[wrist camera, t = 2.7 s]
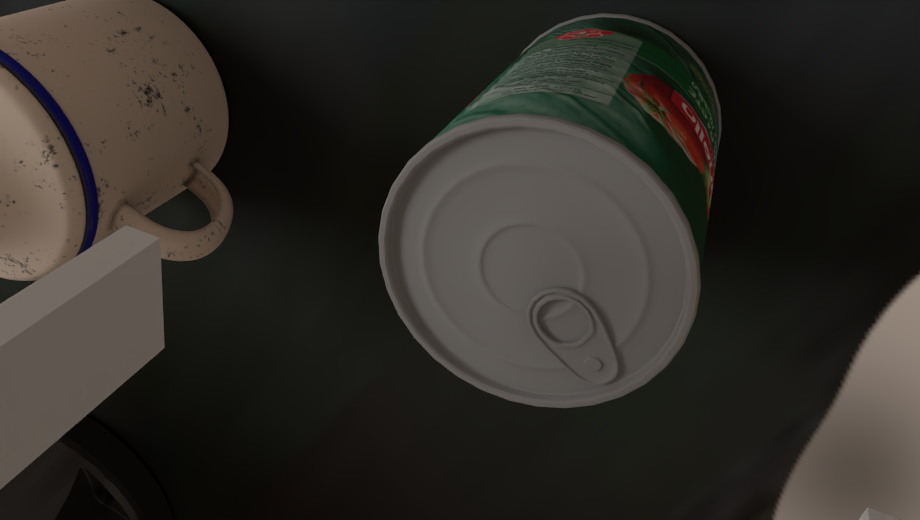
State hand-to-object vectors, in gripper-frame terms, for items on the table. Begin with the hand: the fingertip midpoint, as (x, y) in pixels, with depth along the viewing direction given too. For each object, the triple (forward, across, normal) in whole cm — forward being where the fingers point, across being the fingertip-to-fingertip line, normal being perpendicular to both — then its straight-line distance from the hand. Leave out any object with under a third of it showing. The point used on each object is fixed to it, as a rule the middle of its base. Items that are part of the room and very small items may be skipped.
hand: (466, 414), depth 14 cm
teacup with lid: (+16, +18, +5) cm, 25 cm away
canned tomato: (+16, 0, 0) cm, 17 cm away
